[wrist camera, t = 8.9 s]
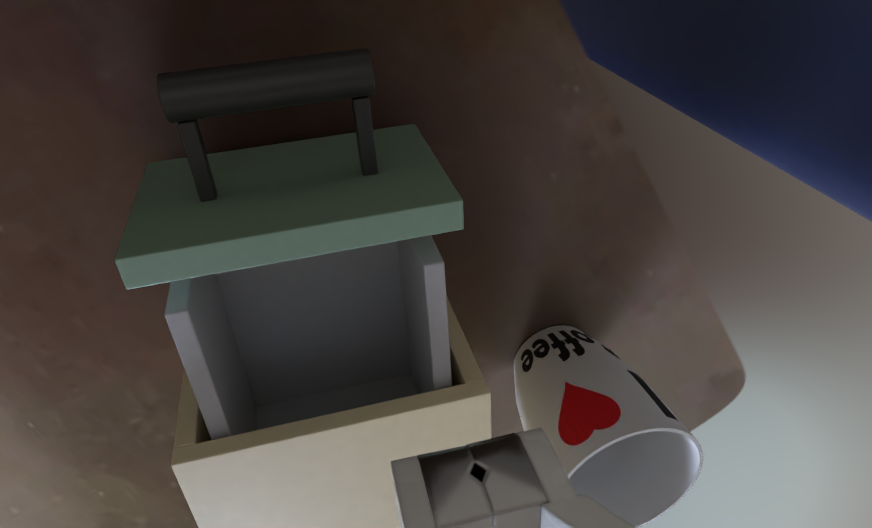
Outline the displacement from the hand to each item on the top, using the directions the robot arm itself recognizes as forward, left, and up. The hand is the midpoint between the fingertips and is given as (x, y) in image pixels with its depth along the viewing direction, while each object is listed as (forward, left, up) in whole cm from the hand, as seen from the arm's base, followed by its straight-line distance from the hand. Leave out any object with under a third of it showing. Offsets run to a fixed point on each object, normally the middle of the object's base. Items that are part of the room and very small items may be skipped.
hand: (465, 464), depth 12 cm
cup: (-11, +17, -20) cm, 29 cm away
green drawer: (+3, +5, -19) cm, 20 cm away
